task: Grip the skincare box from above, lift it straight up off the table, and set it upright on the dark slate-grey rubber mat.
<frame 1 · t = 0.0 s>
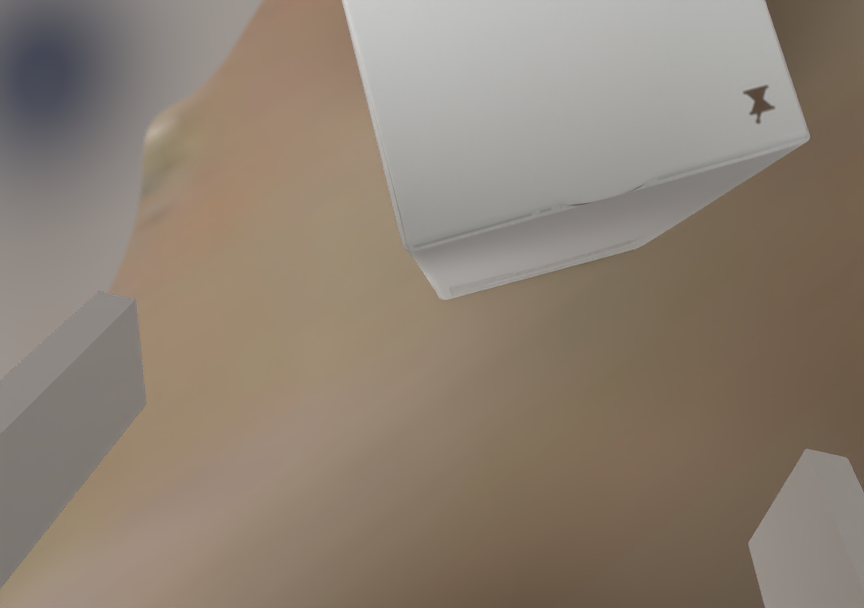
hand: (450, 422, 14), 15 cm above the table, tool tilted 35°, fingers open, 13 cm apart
supplement box: (511, 176, 30), on the table
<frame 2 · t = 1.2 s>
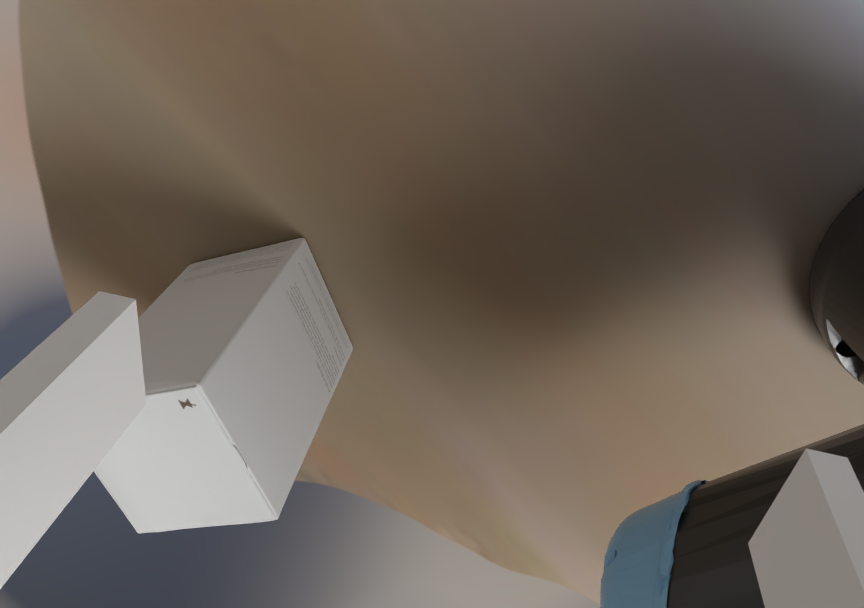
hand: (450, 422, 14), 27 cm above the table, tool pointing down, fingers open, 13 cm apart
supplement box: (273, 305, 47), on the table
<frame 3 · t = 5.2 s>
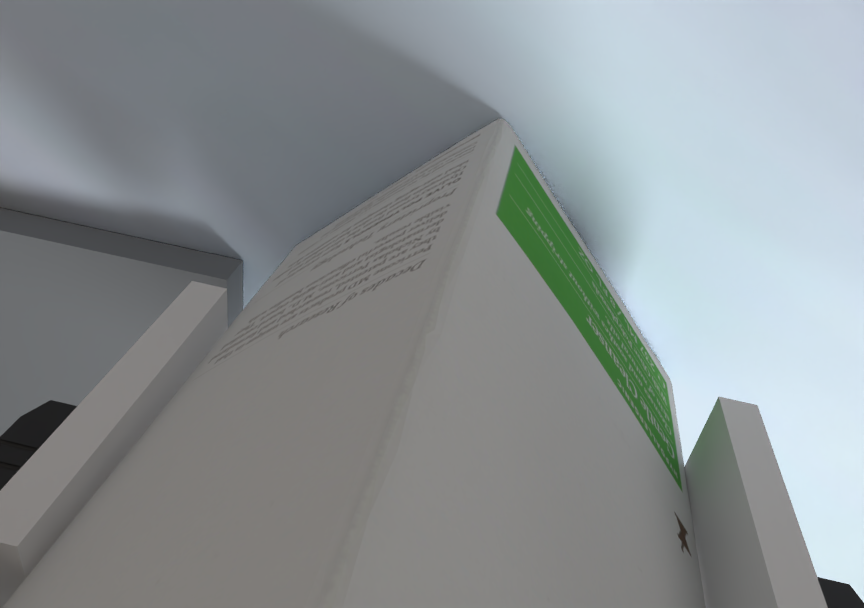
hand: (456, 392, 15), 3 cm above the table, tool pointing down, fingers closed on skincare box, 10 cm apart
slate mat: (54, 388, 21), on the table
skincare box: (474, 305, 18), on the table, touching gripper
when the fingers open (6 cm above the table, at t = 12.5 s): skincare box drops 1 cm, resting on slate mat.
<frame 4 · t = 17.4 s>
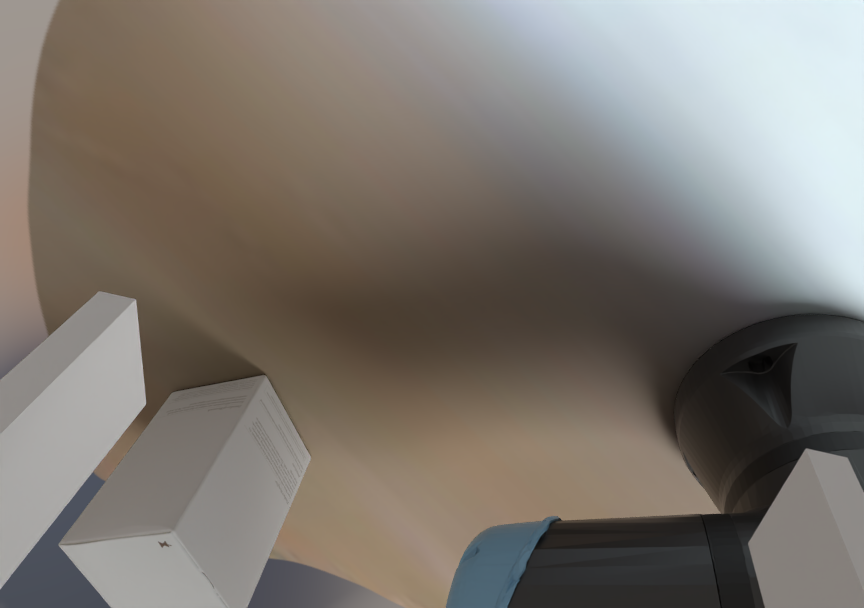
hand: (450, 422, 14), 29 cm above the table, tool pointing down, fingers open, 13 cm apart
supplement box: (243, 423, 56), on the table
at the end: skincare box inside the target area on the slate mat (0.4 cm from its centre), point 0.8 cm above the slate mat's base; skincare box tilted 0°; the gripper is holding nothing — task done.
